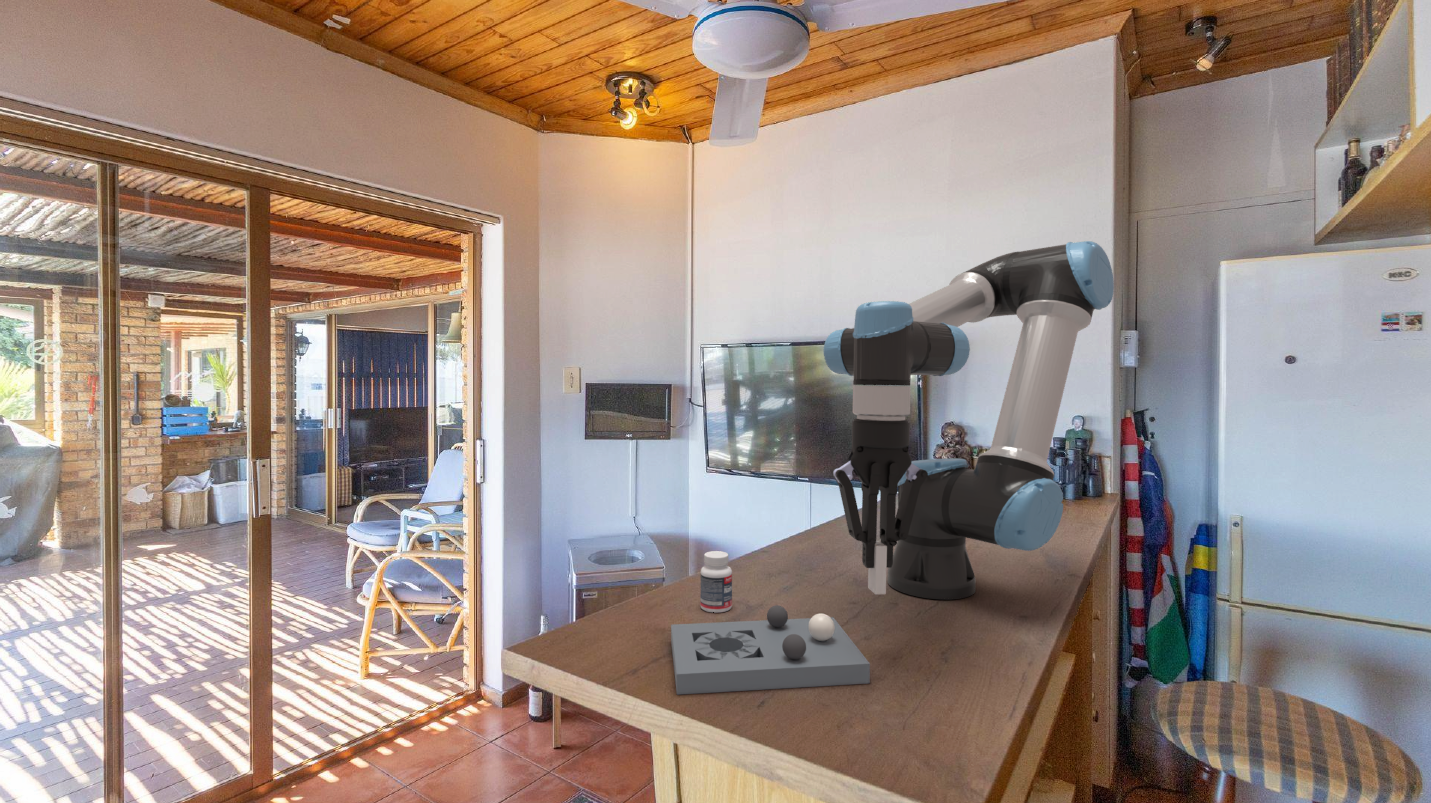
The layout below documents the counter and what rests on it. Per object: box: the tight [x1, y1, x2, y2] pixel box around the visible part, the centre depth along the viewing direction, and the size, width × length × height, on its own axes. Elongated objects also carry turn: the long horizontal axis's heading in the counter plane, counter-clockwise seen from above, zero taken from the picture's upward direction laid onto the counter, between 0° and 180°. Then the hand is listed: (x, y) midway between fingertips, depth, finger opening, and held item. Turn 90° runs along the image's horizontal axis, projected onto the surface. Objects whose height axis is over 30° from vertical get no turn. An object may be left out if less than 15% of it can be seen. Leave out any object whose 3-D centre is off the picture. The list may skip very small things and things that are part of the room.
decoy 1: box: [766, 604, 789, 628], centre depth 89 cm, size 3×3×3 cm
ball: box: [808, 613, 835, 641], centre depth 85 cm, size 4×4×4 cm
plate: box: [670, 616, 871, 695], centre depth 84 cm, size 24×15×2 cm, turn 97°
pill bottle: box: [699, 550, 733, 614], centre depth 103 cm, size 5×5×9 cm
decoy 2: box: [782, 634, 806, 660], centre depth 79 cm, size 3×3×3 cm
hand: (876, 590), depth 85 cm, fingers closed
